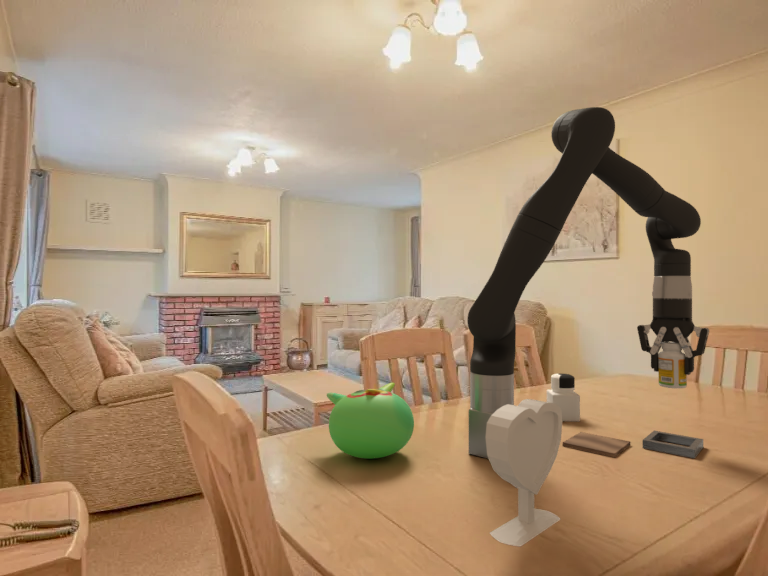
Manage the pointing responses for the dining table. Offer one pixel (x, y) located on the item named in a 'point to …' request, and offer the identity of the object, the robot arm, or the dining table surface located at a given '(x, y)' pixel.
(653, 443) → the square frame
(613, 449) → the coaster
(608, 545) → the dining table surface
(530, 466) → the heart sculpture
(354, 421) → the green rounded blob
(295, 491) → the dining table surface
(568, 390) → the medicine bottle
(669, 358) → the supplement bottle
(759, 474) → the dining table surface
